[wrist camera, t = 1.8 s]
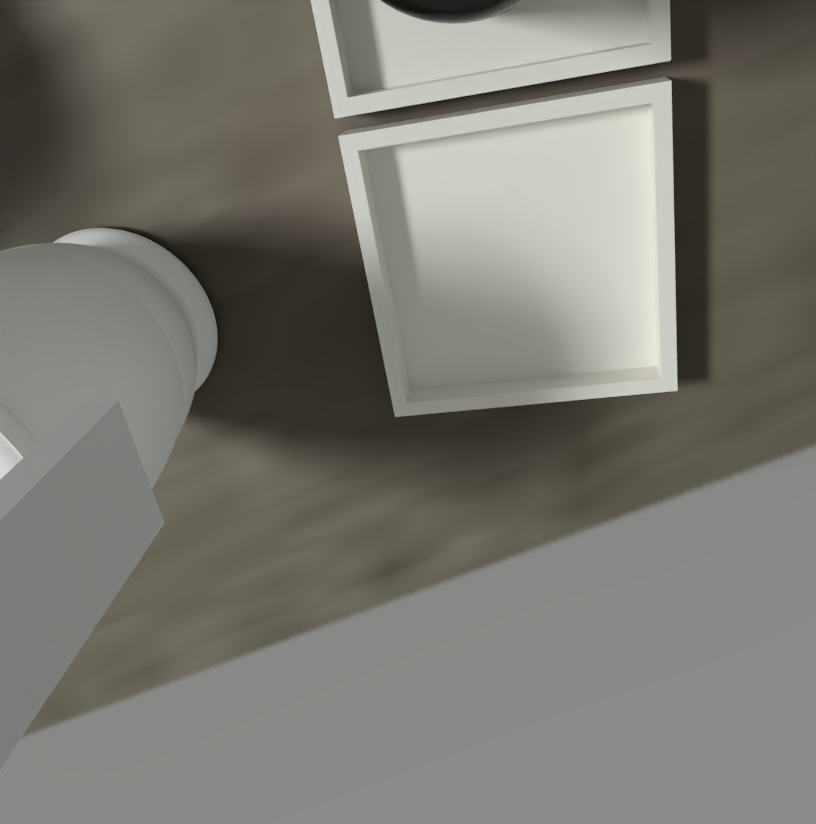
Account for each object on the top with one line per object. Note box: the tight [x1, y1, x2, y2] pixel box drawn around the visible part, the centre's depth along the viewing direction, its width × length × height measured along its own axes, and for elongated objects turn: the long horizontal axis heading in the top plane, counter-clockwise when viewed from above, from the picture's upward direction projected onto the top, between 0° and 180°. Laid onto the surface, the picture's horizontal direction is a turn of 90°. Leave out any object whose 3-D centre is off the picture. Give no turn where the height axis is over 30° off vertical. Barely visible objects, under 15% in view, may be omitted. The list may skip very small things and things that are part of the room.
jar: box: [0, 228, 218, 489], centre depth 27 cm, size 11×10×15 cm
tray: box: [338, 77, 678, 417], centre depth 30 cm, size 11×11×1 cm
